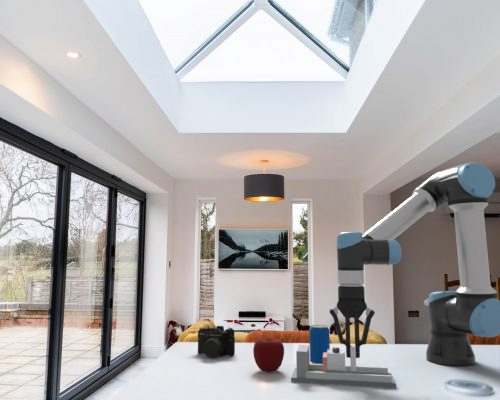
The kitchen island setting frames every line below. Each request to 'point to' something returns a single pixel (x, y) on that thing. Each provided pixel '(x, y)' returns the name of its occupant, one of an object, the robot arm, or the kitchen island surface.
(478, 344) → the kitchen island surface
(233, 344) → the camera
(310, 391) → the kitchen island surface
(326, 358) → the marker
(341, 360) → the white cube with knob
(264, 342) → the apple
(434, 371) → the kitchen island surface
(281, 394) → the kitchen island surface
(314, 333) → the beverage can
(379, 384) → the base
